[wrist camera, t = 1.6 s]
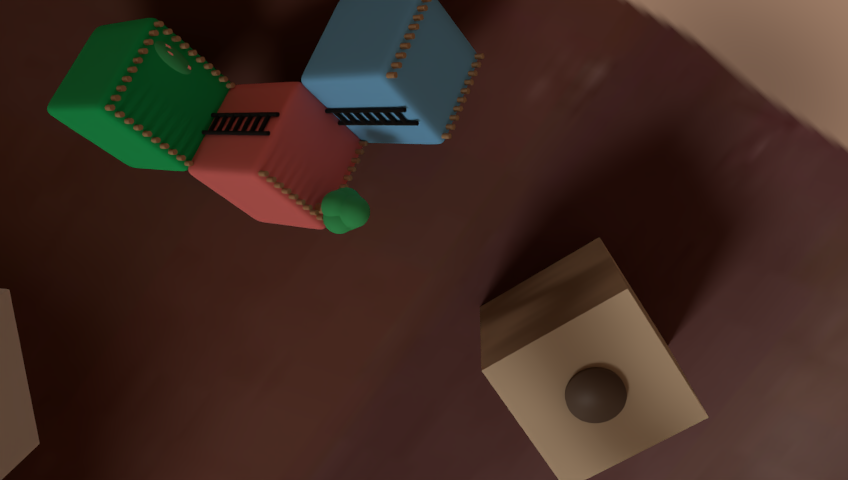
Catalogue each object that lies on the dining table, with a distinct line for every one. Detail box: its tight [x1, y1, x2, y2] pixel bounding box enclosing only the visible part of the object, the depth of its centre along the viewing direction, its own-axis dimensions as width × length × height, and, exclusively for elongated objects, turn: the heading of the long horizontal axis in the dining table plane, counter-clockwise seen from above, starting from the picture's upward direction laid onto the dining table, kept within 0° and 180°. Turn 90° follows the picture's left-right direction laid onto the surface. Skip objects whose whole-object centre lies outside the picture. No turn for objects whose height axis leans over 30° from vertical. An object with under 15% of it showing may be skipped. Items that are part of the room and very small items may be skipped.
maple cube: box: [480, 237, 709, 480], centre depth 30 cm, size 6×6×6 cm
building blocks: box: [47, 0, 484, 234], centre depth 27 cm, size 8×8×12 cm
